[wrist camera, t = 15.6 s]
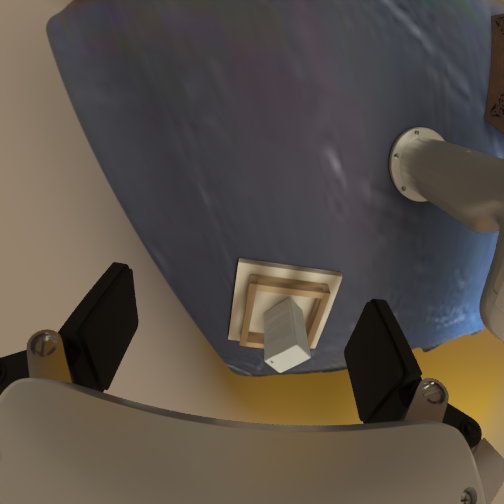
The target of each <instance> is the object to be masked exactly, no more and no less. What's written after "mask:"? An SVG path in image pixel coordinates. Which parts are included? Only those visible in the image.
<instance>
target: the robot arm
mask: <svg viewBox="0 0 504 504" xmlns="http://www.w3.org/2000/svg"><path fill="white" fill-rule="evenodd" d="M394 155H395V157H394ZM389 170H390V175H391V178H392V181H393V183H394V185H395V186H396V188H397V190H398V191H399V192H400V193H401V194H403V195H404V196H405V197H407V198H409V199H410V200H413V201H417V202H424V201H430V202H431V203H433V204H434V205H436V206H437V207H439V208H440V209H442V210H443V211H445V212H446V213H448V214H449V215H451V216H452V217H453V218H455V219H456V220H458V221H459V222H460V223H462V224H463V225H465V226H466V227H468V228H469V229H471V230H472V231H475V232H477V233H483V234H488V233H494V232H497V231H499V235H498V240H497V244H496V250H495V253H494V257H493V260H492V264H491V267H490V270H489V273H488V276H487V279H486V283H485V286H484V289H483V292H482V295H481V299H480V316H481V319H482V321H483V324H484V325H485V327H486V328H487V329H488V330H489V331H490V332H491V334H493V335H494V336H495V337H496V338H498V339H499V340H501V341H502V342H504V159H501V158H498V157H494V156H492V155H489V154H486V153H482V152H479V151H476V150H473V149H469V148H466V147H462V146H459V145H455V144H452V143H448V142H445V141H444V139H443V138H442V137H441V136H440V135H439V134H438V133H437V132H435V131H433V130H432V129H429V128H425V127H414V128H410V129H408V130H406V131H404V132H403V133H402V134H401V135H400V136H399V137H398V138H397V139H396V141H395V142H394V145H393V147H392V149H391V153H390V158H389ZM137 327H138V315H137V307H136V299H135V290H134V281H133V271H132V269H129V267H128V265H127V264H122V263H117V262H114V263H113V264H112V265H111V266H110V267H109V268H108V269H107V271H106V272H105V273H104V274H103V275H102V276H101V278H100V279H99V280H98V281H97V283H96V284H95V285H94V286H93V288H92V289H91V290H90V291H89V292H88V294H87V295H86V296H85V297H84V299H83V300H82V301H81V302H80V304H79V305H78V306H77V308H76V309H75V310H74V312H73V313H72V314H71V315H70V317H69V318H68V320H67V321H66V322H65V323H64V325H63V326H62V328H61V329H60V330H59V332H58V333H57V332H55V331H53V330H48V329H47V330H41V331H38V332H37V333H35V334H33V335H32V336H31V338H30V339H29V341H28V343H27V350H25V351H21V352H18V353H15V354H11V355H8V356H5V357H2V358H0V504H491V502H492V501H493V499H494V497H495V496H496V494H497V492H498V491H499V489H500V487H501V486H502V483H503V482H504V459H503V458H502V456H501V455H500V454H499V453H498V452H497V451H496V450H495V449H494V448H493V446H492V445H491V444H490V443H489V442H488V441H487V440H486V439H485V438H483V439H482V440H481V435H482V434H481V428H480V426H479V424H478V423H477V422H476V421H475V420H474V419H472V418H471V417H469V416H468V415H466V414H464V413H463V412H461V411H460V410H458V409H456V408H455V407H453V406H452V405H450V404H449V403H448V397H449V396H448V392H447V390H446V388H445V386H444V385H443V384H442V383H441V382H439V381H438V380H436V379H433V378H426V379H423V380H422V379H421V375H422V372H421V370H420V368H419V365H418V363H417V361H416V359H415V357H414V354H413V353H412V350H411V348H410V346H409V344H408V342H407V340H406V338H405V336H404V334H403V332H402V330H401V328H400V326H399V324H398V322H397V320H396V318H395V316H394V315H393V313H392V311H391V309H390V307H389V305H388V303H387V302H386V300H380V299H372V300H371V301H370V302H367V303H366V305H365V307H364V309H363V312H362V314H361V316H360V318H359V320H358V323H357V325H356V327H355V329H354V331H353V333H352V335H351V337H350V339H349V341H348V343H347V345H346V347H345V351H344V357H345V360H346V364H347V368H348V372H349V376H350V380H351V384H352V388H353V392H354V397H355V401H356V405H357V410H358V414H359V418H360V420H361V421H363V423H364V424H354V425H333V426H332V425H330V426H298V425H273V424H259V423H248V422H238V421H230V420H222V419H215V418H209V417H202V416H196V415H191V414H185V413H180V412H175V411H170V410H166V409H161V408H157V407H153V406H148V405H145V404H141V403H137V402H133V401H130V400H126V399H122V398H119V397H116V396H112V395H109V394H106V393H103V391H104V390H108V389H109V386H110V384H111V382H112V380H113V378H114V376H115V373H116V371H117V369H118V367H119V365H120V363H121V361H122V358H123V356H124V354H125V352H126V350H127V348H128V346H129V344H130V342H131V340H132V337H133V336H134V334H135V332H136V330H137Z"/></svg>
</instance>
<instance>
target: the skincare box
mask: <svg viewBox="0 0 504 504" xmlns="http://www.w3.org/2000/svg"><path fill="white" fill-rule="evenodd" d="M310 358H311V356H310V350H309V344H308V339H307V333H306V327H305V322H304V316H303V311H302V309H301V308H300V307H299V306H298V305H297V304H296V303H295V302H294V300H293V299H292V298H291V297H289V298H287V299H285V300H284V301H282V302H281V303H279V304H277V305H276V306H274V307H273V308H271V309H269V310H268V311H266V312H264V361H265V362H266V363H268V364H269V365H270V366H271V367H273V368H274V369H275V370H277V371H278V372H279V373H282V372H284V371H286V370H288V369H290V368H292V367H294V366H296V365H298V364H300V363H302V362H304V361H306V360H307V359H310Z"/></svg>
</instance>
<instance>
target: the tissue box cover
mask: <svg viewBox="0 0 504 504" xmlns="http://www.w3.org/2000/svg"><path fill="white" fill-rule="evenodd" d="M491 23H492V50H491V68H490V80H489V89H488V96H487V103H486V110H485V115H484V119H486V120H487V121H488V122H490V123H491V124H492V125H494V126H495V127H496V128H497V129H499V130H500V131H501V132H502V133H504V14H500V15H495V16H491Z"/></svg>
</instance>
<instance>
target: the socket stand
mask: <svg viewBox="0 0 504 504" xmlns="http://www.w3.org/2000/svg"><path fill="white" fill-rule="evenodd" d="M341 280H342V274H341V272H336V271H329V270H322V269H314V268H307V267H300V266H293V265H286V264H279V263H272V262H265V261H258V260H251V259H244V258H239V262H238V269H237V276H236V284H235V291H234V299H233V306H232V314H231V321H230V329H229V337H228V339H230V340H237V341H240V346H248V347H256V348H264V312H266V311H268V310H269V309H271V308H273V307H274V306H276V305H277V304H279V303H281V302H282V301H284V300H285V299H287V298H289V297H291V298H292V299H293V300H294V302H295V303H296V304H297V305H298V306H299V307H300V308H301V309H302V311H303V316H304V322H305V327H306V333H307V339H308V344H309V350H310V348H314V349H315V347H316V345H317V342H318V340H319V338H320V335H321V333H322V330H323V328H324V325H325V323H326V320H327V318H328V315H329V312H330V310H331V307H332V304H333V302H334V299H335V296H336V294H337V291H338V288H339V285H340V282H341Z"/></svg>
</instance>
